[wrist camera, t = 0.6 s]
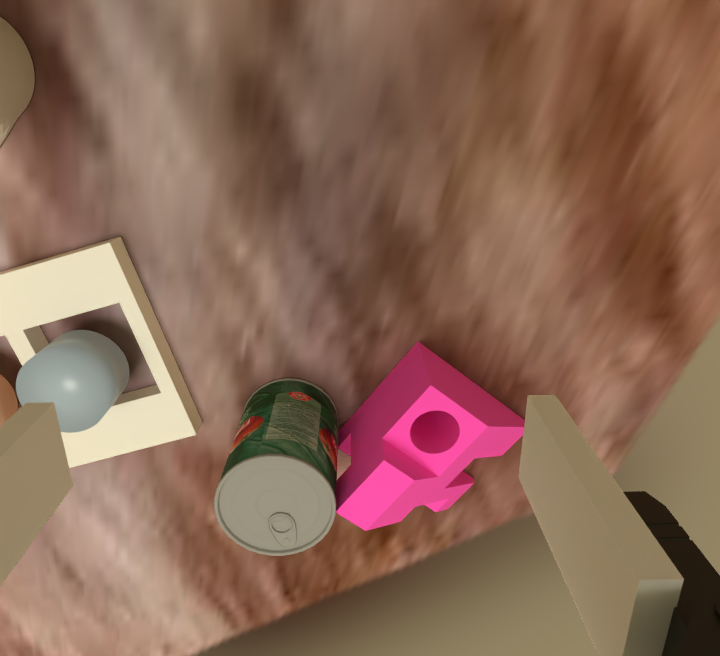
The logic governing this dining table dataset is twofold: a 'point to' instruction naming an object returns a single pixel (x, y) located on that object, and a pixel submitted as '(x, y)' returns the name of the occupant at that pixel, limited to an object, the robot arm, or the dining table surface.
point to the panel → (122, 285)
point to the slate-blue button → (75, 378)
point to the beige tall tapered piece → (13, 77)
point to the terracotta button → (7, 401)
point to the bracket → (418, 441)
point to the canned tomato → (281, 470)
